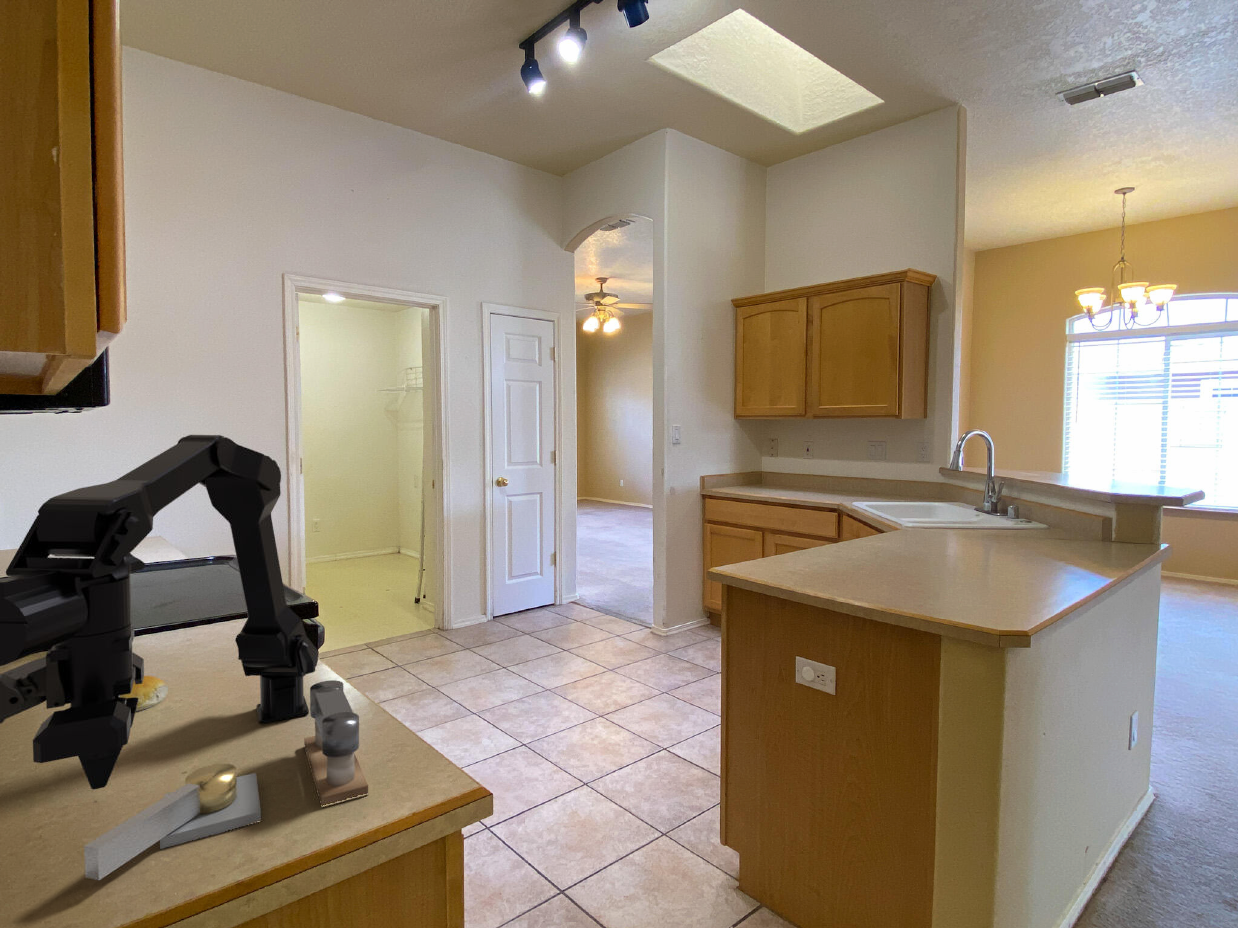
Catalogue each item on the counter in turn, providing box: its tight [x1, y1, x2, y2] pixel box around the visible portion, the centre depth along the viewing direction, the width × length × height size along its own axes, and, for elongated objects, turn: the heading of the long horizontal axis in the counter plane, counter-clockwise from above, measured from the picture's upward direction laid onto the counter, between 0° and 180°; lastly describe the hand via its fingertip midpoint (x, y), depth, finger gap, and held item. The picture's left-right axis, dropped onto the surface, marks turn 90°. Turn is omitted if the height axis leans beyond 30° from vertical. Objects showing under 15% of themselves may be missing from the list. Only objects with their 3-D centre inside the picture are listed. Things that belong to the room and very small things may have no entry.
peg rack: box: [303, 719, 369, 806], centre depth 82 cm, size 16×5×5 cm, turn 32°
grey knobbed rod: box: [309, 679, 360, 757], centre depth 82 cm, size 15×4×4 cm, turn 32°
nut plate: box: [159, 772, 262, 850], centre depth 73 cm, size 9×9×1 cm
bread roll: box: [120, 675, 169, 713], centre depth 100 cm, size 8×9×4 cm
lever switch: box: [83, 762, 238, 881], centre depth 68 cm, size 15×5×3 cm, turn 166°
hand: (99, 786), depth 63 cm, fingers closed
